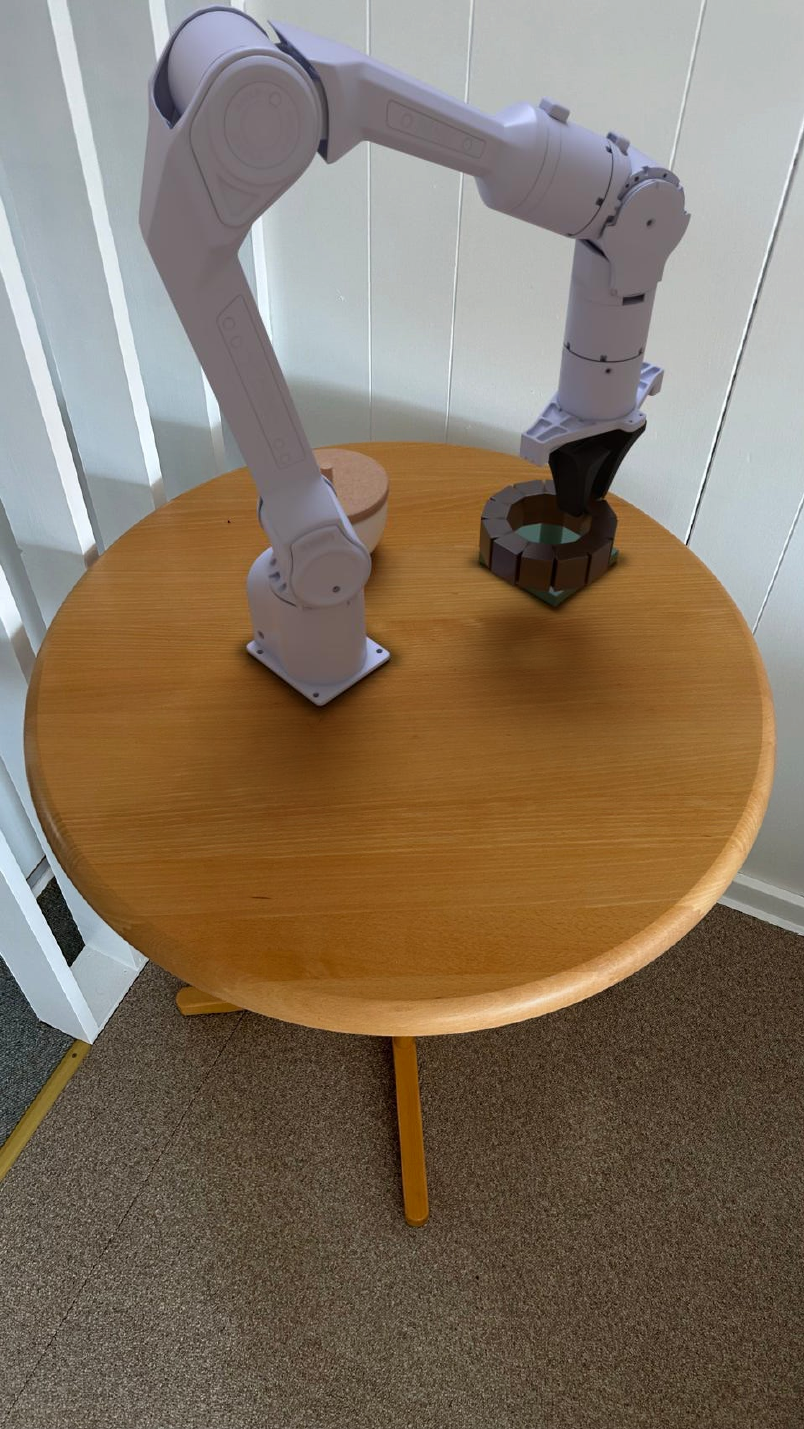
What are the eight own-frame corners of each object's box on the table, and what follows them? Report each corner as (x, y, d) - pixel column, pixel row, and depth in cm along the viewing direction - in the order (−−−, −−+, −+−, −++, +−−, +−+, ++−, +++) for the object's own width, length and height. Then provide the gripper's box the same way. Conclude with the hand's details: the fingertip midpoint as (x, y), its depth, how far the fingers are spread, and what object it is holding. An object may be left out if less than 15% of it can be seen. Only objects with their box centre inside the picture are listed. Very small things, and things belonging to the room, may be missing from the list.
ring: (453, 549, 78) (454, 518, 76) (538, 494, 83) (541, 464, 80) (554, 610, 73) (558, 579, 70) (637, 548, 77) (644, 517, 75)
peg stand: (478, 561, 89) (481, 510, 85) (541, 519, 93) (547, 468, 89) (554, 607, 84) (562, 555, 80) (617, 560, 89) (627, 509, 84)
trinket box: (376, 597, 86) (373, 509, 79) (260, 582, 87) (247, 494, 80) (400, 524, 93) (399, 438, 86) (293, 512, 94) (283, 426, 87)
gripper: (585, 402, 62) (561, 567, 73) (711, 326, 69) (674, 486, 79) (503, 364, 66) (491, 526, 76) (631, 295, 73) (605, 453, 83)
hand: (580, 504), depth 78 cm, fingers closed on ring, 2 cm apart
